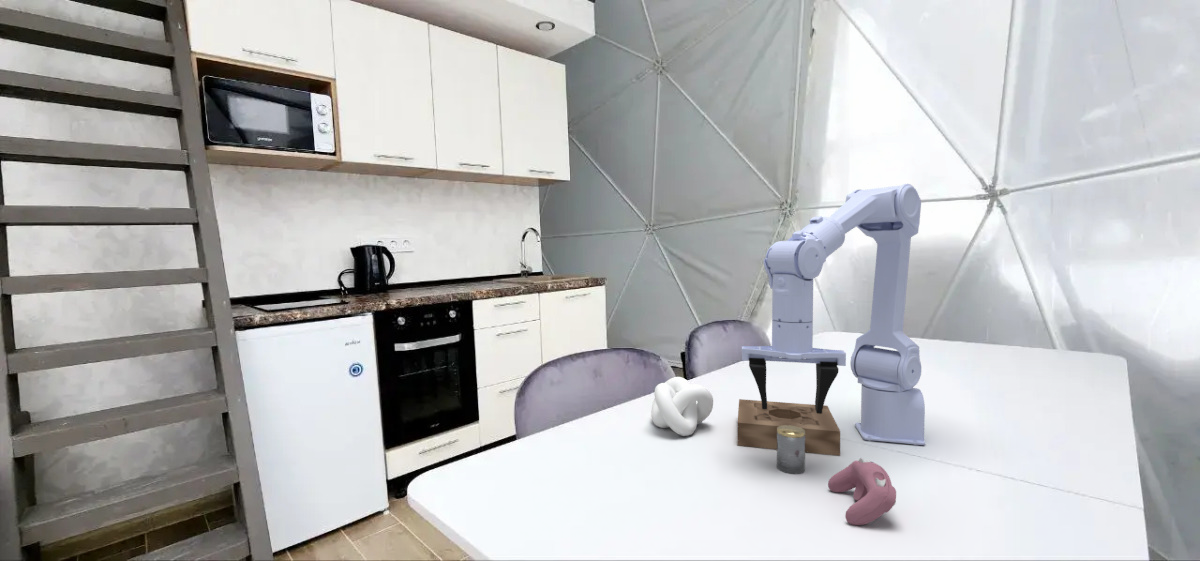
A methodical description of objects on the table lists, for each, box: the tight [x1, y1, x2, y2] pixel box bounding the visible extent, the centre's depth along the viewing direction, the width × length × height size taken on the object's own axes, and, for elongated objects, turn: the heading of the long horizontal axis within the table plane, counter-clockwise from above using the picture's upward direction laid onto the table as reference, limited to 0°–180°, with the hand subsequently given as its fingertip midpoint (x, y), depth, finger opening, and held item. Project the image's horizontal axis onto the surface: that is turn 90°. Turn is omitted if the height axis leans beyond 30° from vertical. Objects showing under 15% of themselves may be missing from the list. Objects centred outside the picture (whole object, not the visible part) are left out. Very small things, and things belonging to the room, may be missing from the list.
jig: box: [736, 398, 841, 457], centre depth 88 cm, size 16×14×4 cm
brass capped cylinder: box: [776, 425, 806, 475], centre depth 75 cm, size 4×4×6 cm
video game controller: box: [827, 457, 897, 526], centre depth 63 cm, size 10×5×7 cm, turn 169°
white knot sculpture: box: [650, 376, 714, 437], centre depth 93 cm, size 11×12×9 cm
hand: (791, 409), depth 75 cm, fingers open, 7 cm apart
